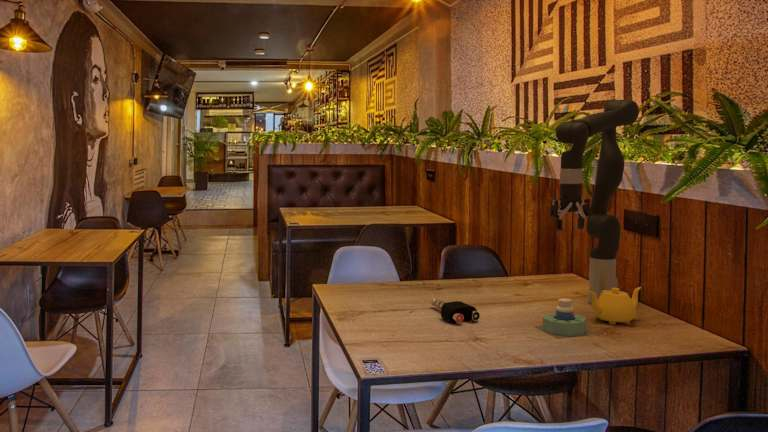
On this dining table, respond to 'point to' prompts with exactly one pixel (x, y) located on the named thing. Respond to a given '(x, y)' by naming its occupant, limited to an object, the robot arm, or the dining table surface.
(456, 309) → the audio adapter
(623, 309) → the teapot
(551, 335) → the felt mat
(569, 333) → the green faceted planter
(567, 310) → the pill bottle
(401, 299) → the dining table surface
